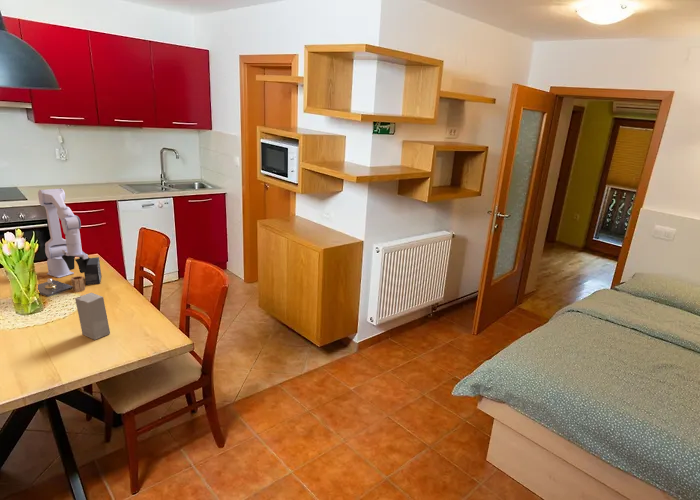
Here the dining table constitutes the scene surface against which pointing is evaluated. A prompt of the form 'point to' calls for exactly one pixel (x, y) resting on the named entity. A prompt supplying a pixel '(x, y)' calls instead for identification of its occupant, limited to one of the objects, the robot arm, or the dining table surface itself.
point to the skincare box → (92, 315)
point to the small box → (93, 272)
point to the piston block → (53, 287)
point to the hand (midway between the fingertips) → (77, 270)
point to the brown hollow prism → (78, 283)
